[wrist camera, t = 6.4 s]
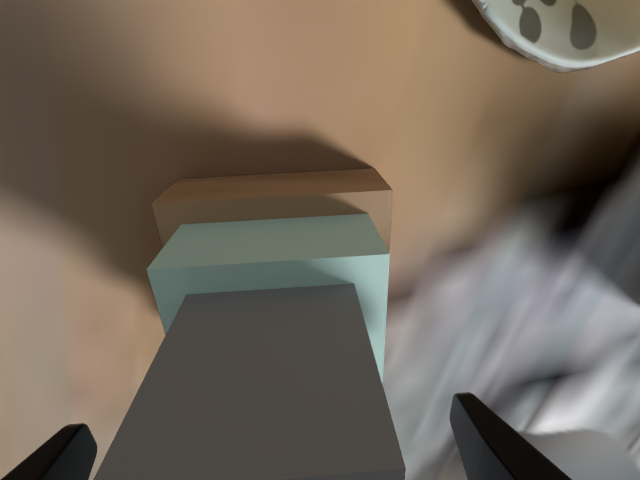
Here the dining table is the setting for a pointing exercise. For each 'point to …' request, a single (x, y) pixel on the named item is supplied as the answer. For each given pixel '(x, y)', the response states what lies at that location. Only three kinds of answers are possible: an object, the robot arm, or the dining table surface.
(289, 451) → the charcoal block
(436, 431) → the dining table surface
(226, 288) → the teal slab
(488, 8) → the salad plate
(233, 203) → the tan flat block
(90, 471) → the robot arm
